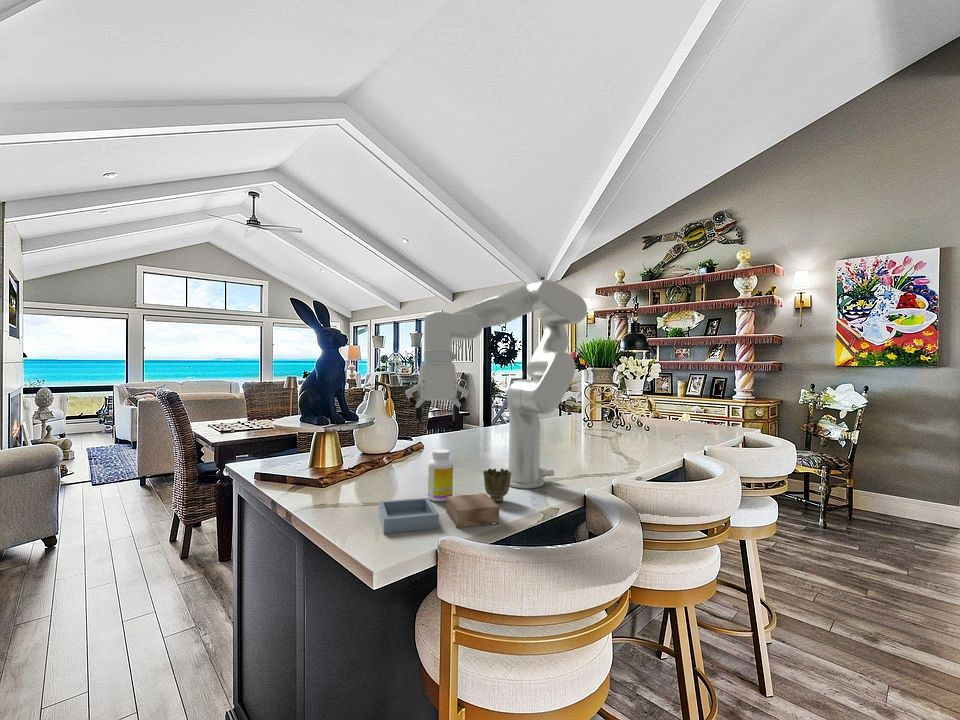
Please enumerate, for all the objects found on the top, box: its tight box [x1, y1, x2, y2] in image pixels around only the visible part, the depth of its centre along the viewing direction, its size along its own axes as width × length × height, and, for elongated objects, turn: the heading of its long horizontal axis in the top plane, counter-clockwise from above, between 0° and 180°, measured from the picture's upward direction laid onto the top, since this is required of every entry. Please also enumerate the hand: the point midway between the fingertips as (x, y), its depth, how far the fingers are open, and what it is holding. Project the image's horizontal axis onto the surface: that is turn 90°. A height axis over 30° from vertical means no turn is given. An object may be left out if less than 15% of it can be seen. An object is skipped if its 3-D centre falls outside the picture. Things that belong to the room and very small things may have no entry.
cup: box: [483, 468, 511, 504], centre depth 118 cm, size 8×7×8 cm
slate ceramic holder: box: [378, 497, 440, 535], centre depth 102 cm, size 12×12×3 cm
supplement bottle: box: [427, 448, 454, 503], centre depth 119 cm, size 7×7×13 cm
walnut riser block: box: [445, 493, 500, 528], centre depth 105 cm, size 10×10×4 cm
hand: (437, 421), depth 119 cm, fingers open, 9 cm apart
